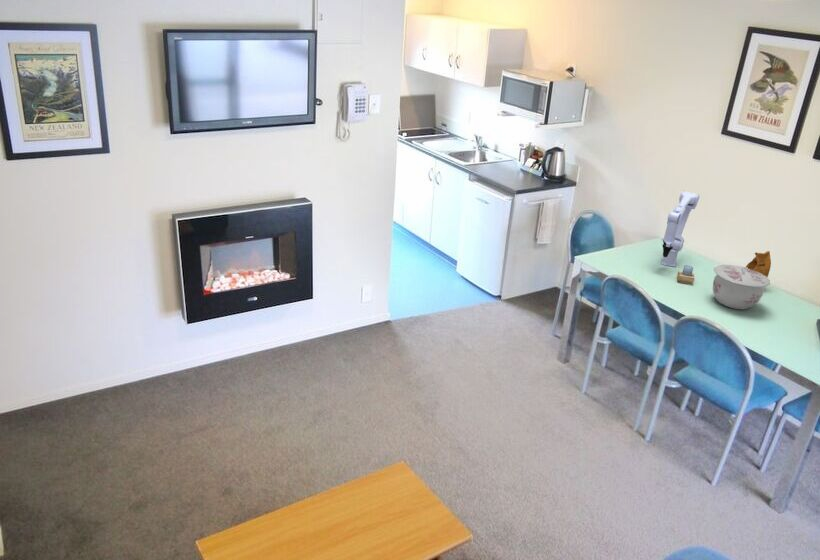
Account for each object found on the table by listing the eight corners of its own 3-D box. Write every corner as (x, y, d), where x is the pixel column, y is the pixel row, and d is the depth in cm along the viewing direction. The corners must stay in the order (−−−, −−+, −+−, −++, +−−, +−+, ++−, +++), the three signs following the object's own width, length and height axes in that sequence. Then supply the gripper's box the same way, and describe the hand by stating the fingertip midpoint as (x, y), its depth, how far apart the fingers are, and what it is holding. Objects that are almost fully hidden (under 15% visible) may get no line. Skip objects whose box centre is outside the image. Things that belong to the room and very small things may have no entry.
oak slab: (677, 274, 382) (678, 270, 381) (692, 276, 380) (693, 272, 379) (678, 279, 375) (679, 275, 374) (693, 282, 373) (694, 278, 372)
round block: (682, 271, 379) (684, 264, 377) (691, 273, 377) (693, 266, 376) (681, 274, 375) (683, 267, 373) (691, 276, 373) (693, 269, 371)
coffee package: (735, 285, 379) (747, 249, 370) (751, 283, 384) (763, 247, 375) (749, 292, 371) (761, 256, 362) (766, 290, 376) (778, 254, 366)
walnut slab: (676, 277, 383) (677, 273, 382) (691, 280, 381) (692, 277, 380) (676, 283, 376) (677, 279, 375) (691, 286, 374) (692, 282, 373)
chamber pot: (728, 317, 340) (740, 280, 331) (694, 293, 364) (704, 258, 355) (773, 314, 348) (786, 278, 339) (737, 291, 371) (748, 257, 363)
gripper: (663, 227, 387) (658, 249, 392) (663, 235, 374) (657, 257, 380) (676, 229, 385) (670, 251, 390) (676, 237, 372) (670, 259, 378)
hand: (664, 254), depth 385 cm, fingers open, 7 cm apart
